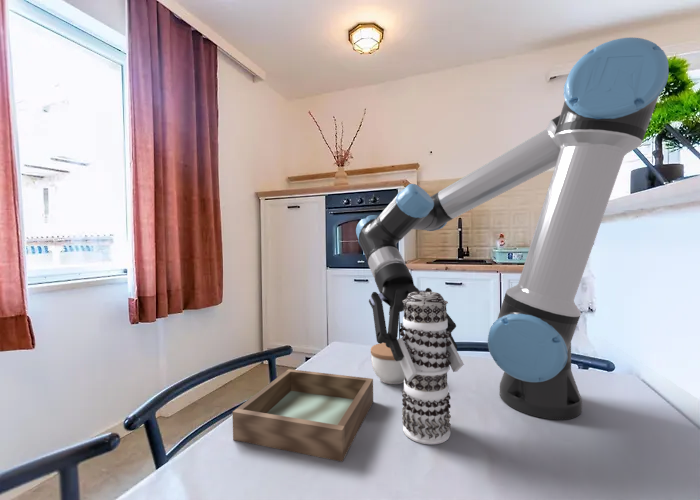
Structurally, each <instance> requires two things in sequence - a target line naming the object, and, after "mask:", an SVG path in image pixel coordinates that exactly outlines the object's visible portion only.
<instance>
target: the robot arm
mask: <svg viewBox="0 0 700 500" xmlns="http://www.w3.org/2000/svg"><path fill="white" fill-rule="evenodd" d="M669 73H670V72H669V60H668V57H667V54H666V52H665V51H664V50H663V49H662V48H661V47H660V46H659V45H657V44H656V43H655V42H653V41H652V40H648V39H646V38H641V37H621V38H616V39H613V40H609V41H606V42H603V43H601V44H599V45H598V46H596V47H595V46H594V48H592V49H590V50H589V51H588V52H587V53H585V54H584V55H582V56H581V58H579V59H578V60H577V61H576V63H575V64H574V65H573V66H572V68H571V69H570V71H569V72H568V75H567V78H566V81H565V83H564V87H563V98H564V103H563V105H562V110H561V113H560V114H559V115H558V116H556V117H554V118H553V119H551V120H550V121H549V122H548V125H547V126H546V129H543V130H542V131H541V132H539V133H537V134H535V135H534V136H532V137H530V138H528V139H527V140H525V141H524V142H522V143H519V144H518V145H516V146H515V147H513V148H511V149H510V150H508V151H506V152H504V153H503V154H501V155H500V156H497V157H495V158H494V159H492V160H490V161H489V162H488V163H486V164H483V165H482V166H481V167H478V168H477V169H476V170H474V171H472V172H470V173H469V174H467V175H465V176H463V177H462V178H460V179H458V180H457V181H455V182H453V183H451V184H450V185H448V186H446V187H444V188H442V189H441V190H440V191H437V192H436V193H435V194H433V195H429V193H428V192H427V191H426V190H425V189H423V188H422V187H420V186H419V185H418V184H415V183H409V184H408V185H407V186H405V188H403V189H402V190H401V191H400V192H398V193H397V194H396V196H395V197H394V198H393V199H392V201H390V203H389V204H388V205H387V206H386V207H385V208H384V209H383V210H382V212H381V213H380V214H379V215H378V214H377V215H376V214H375V215H374V214H373V215H368V216H366V217H365V218H361V219H360V220H359V222H358V223H357V225H356V228H355V233H356V237H357V239H358V240H357V241H358V244H359V247H360V248H361V250H362V252H363V254H364V256H365V259H366V262H367V264H368V268H369V269H370V272H371V274H372V277H373V279H374V281H375V282H374V283H375V284H376V287H377V289H378V292H379V293H378V292H376V291H373V292H372V293H371V295H370V297H369V299H368V303H369V304H370V307H371V309H372V315H373V321H374V328H375V329H374V330H375V331H374V332H375V338H376V342H377V344H382V343H386V344H385V345H386V347H388V348H390V349H391V351H392V354H393V357H394V359H395V360H396V361H400V364H401V366H402V369H403V372H404V374H405V377H406V379H407V381H409V380H412V378H413V377H414V376H415V375H416V374H417V372H416V369H415V367H414V365H413V362H412V360H411V357H410V355H409V353H408V350H407V348H406V345H405V343H404V341H403V338H402V337H399V336H398V335H399V334H398V333H399V325H400V323H399V319H400V312H401V313H402V312H404V303H403V302H402V301H403V300H405V299H406V298H407V296H408V294H410V293H412V292H419V291H428V292H433V290H432V289H431V288H430V287H427V288H426V289H425V290H423V289H422V290H421V289H419V288H417V286H416V285H415V283H414V278H413V276H412V274H411V271H410V270H409V267H408V266H407V265H406V262H405V260H404V258H403V256H402V254H401V252H400V251H399V248H398V247H397V244H398V243H399V242H400V241H401V240H402V239H404V237H405V236H407V235H408V234H409V233H410V232H411V231H412V230H415V231H416V230H419V231H420V230H422V231H427V232H435V231H437V230H441V229H443V228H444V227H445V226H446V225H447V224H448V222H450V221H452V220H454V219H456V218H457V217H459V216H461V215H463V214H465V213H467V212H469V211H471V210H473V209H475V208H477V207H478V206H481V205H483V204H485V203H486V202H488V201H491V200H492V199H494V198H496V197H498V196H500V195H502V194H504V193H506V192H508V191H510V190H512V189H514V188H515V187H518V186H520V185H521V184H523V183H526V182H528V181H529V180H531V179H533V178H535V177H538V176H539V175H540V174H543V173H545V172H547V171H549V170H550V169H553V168H554V170H553V172H552V176H551V178H550V182H549V185H548V187H547V188H548V189H547V191H546V193H545V198H544V201H543V205H542V207H541V210H540V214H539V217H538V219H537V223H536V226H535V229H534V233H533V237H532V240H531V242H530V245H529V248H528V252H527V255H526V258H525V260H524V265H523V268H522V271H521V274H520V277H519V280H518V283H517V284H516V285H514V286H512V287H510V288H507V289H506V291H505V294H504V297H503V300H502V304H501V307H500V309H499V313H498V316H497V319H496V320H495V321H494V322H493V323H492V325H491V327H490V328H489V331H488V335H487V348H488V352H489V354H490V355H491V358H492V359H493V361H494V362H495V364H496V365H497V366H498V368H499V369H501V370H502V371H503V374H502V376H501V380H500V382H499V398H500V399H501V400H502V402H504V404H506V405H507V406H509V407H510V408H512V409H514V410H516V411H519V412H521V413H523V414H526V415H530V416H533V417H538V418H544V419H548V420H549V419H550V420H570V419H574V418H577V417H579V416H580V415H581V414H582V412H583V407H582V406H583V401H582V396H581V394H580V391H579V389H578V386H577V383H576V381H575V378H574V375H573V372H572V371H573V370H572V340H573V337H574V334H575V332H576V328H577V326H578V323H579V321H580V318H581V315H582V313H581V311H580V309H579V308H578V306H577V305H576V303H575V298H576V296H577V292H578V289H579V287H580V284H581V281H582V278H583V275H584V272H585V270H586V266H587V264H588V260H589V258H590V255H591V252H592V249H593V246H594V244H595V241H596V239H597V235H598V232H599V229H600V227H601V223H602V221H603V218H604V216H605V212H606V209H607V206H608V203H609V201H610V198H611V195H612V193H613V190H614V186H615V183H616V180H617V178H618V175H619V173H620V169H621V166H622V163H623V161H624V158H625V156H626V155H627V154H628V153H631V152H632V151H634V150H636V149H637V148H640V147H641V145H642V143H643V142H644V141H643V140H644V137H645V135H646V132H647V130H648V127H649V124H650V122H651V119H652V116H653V113H654V110H655V107H656V104H657V102H658V99H659V97H660V95H661V93H662V92H663V90H664V89H665V87H666V85H667V82H668V79H669V75H670V74H669ZM383 302H384V303H385V304H386V305H388V306H389V308H388V309H389V310H388V315H389V316H388V327H387V324H386V317H385V312H384V305H383ZM446 318H447V320H448V328H446V330H448V331H449V332H451V333H452V332H454V330H455V329H456V327H457V324H456V323H455V321H454V320H453V319H452V317H451V316H450V315H449V314H448V312H447V311H446ZM398 337H399V338H398ZM447 339H448V340H449V341H451V343H452V344H451V345H450V346H448V347H447V348H446V350H447V351H449V352H450V353H451V355H450V357H449V358H447V359H448V360H449V361H450V362H451V365H449V367H450V369H451V370H452V372H453V373H456V372H458V371H459V370H460V369H461V368H462V367H463V366H464V365H465V364H464V361H463V360H462V358H461V356H460V354H459V352H458V350H457V349H458V345H457V343H456V341H455V339H454V337H453V336H452V334H451V336H450V337H449V338H447Z"/></svg>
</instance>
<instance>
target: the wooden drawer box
mask: <svg viewBox="0 0 700 500" xmlns="http://www.w3.org/2000/svg"><path fill="white" fill-rule="evenodd" d="M373 403H374V378H369V377H361V376H352V375H345V374H343V375H342V374H336V373H327V372H326V373H325V372H317V371H310V370H309V371H307V370H299V369H291V368H288V369H287V370H286V371H285V370H284V372H283V373H281V374H279V376H277V377H276V378H275V379H274V380H272V381H270V383H268V384H267V385H266V386H264V387H263V388H262V389H261V390H259V391H257V392H256V393H255V394H254V395H252V396H251V397H250V398H249V399H247V400H246V401H245V402H244V403H242V404H240V405H239V406H238V407H237V408H236V409H234V410H232V440H233V441H238V442H243V443H246V444H253V445H257V446H262V447H266V448H267V447H268V448H272V449H278V450H283V451H288V452H291V453H292V452H293V453H296V454H297V453H298V454H303V455H308V456H313V457H316V458H317V457H318V458H320V459H321V458H323V459H327V460H328V459H329V460H333V461H338V462H343V461H344V459H345V458H346V456H347V454H348V452H349V449H350V448H351V446H352V444H353V442H354V439H355V438H356V436H357V434H358V433H359V430H360V428H361V427H362V424H363V423H364V421H365V419H366V417H367V415H368V412H369V411H370V409H371V407H372V405H373Z"/></svg>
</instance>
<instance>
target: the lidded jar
mask: <svg viewBox="0 0 700 500" xmlns="http://www.w3.org/2000/svg"><path fill="white" fill-rule="evenodd" d="M385 344H386V343H382V344H380V343H377V344H374V345H372V346H371V348H370V358H371V360H370V361H371V365H372V369H373V371H374V373H375V375H376V376H377V377H378V378H379V379H380V382H382V383H384V384H388V385H400V384H402V383H404V379H405V374H404V372H403V369H402V366H401V364H400V361H396V360H395V359H394V357H393V354H392V351H391V349H390V348H388V347H386V345H385Z"/></svg>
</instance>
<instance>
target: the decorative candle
mask: <svg viewBox="0 0 700 500" xmlns="http://www.w3.org/2000/svg"><path fill="white" fill-rule="evenodd" d="M402 302H403V303H404V311H403V317H402V322H401V323H399V327H400V328H398V333H399V335H400V336H401V338H403V341H404V343H405V345H406V348H407V350H408V353H409V355H410V357H411V360H412V362H413V365H414V367H415V369H416V372H417V374H416V375H415V376H414V377H413V378H412V380H409V381H407V379H406V377H405V379H404V382H403V389H402V391H401V393H402V394H401V395H402V399H401V400H402V404H401V405H402V406H403V407H402V408H401V413H402V414H401V415H402V417H401V418H402V431H403V433H404V435H405V436H406V437H407V438H409V439H410V440H411V441H414V442H416V443H419V444H422V445H430V446H431V445H432V446H433V445H438V444H439V445H440V444H443V443H444V442H446V441H447V440H449V439H450V437H451V429H450V427H451V426H452V424H451V423H450V419H451V418H452V416H451V414H450V413H451V411H450V408H451V407H452V406H451V404H450V400H451V395H450V392H449V384H448V372H449V371H450V369H451V366H450V365H451V362H450V361H449V360H448V359H447V358H449V357H450V355H451V353H450V352H449V351H447V350H446V348H447V347H448V346H450V345H451V344H452V343H451V341H449V340H448V339H447V338H449V337H450V336H451V335H452V332H449V331H448V330H446V328H448V320H447V318H446V312H447V304H449V302H448V301H447V300H445V299H444V297H443V295H442V294H441V293H439V292H436V291H432V292H428V291H425V290H423V291H419V292H412V293H410V294H408V296H407V298H406V299H405V300H403V301H402Z"/></svg>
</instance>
